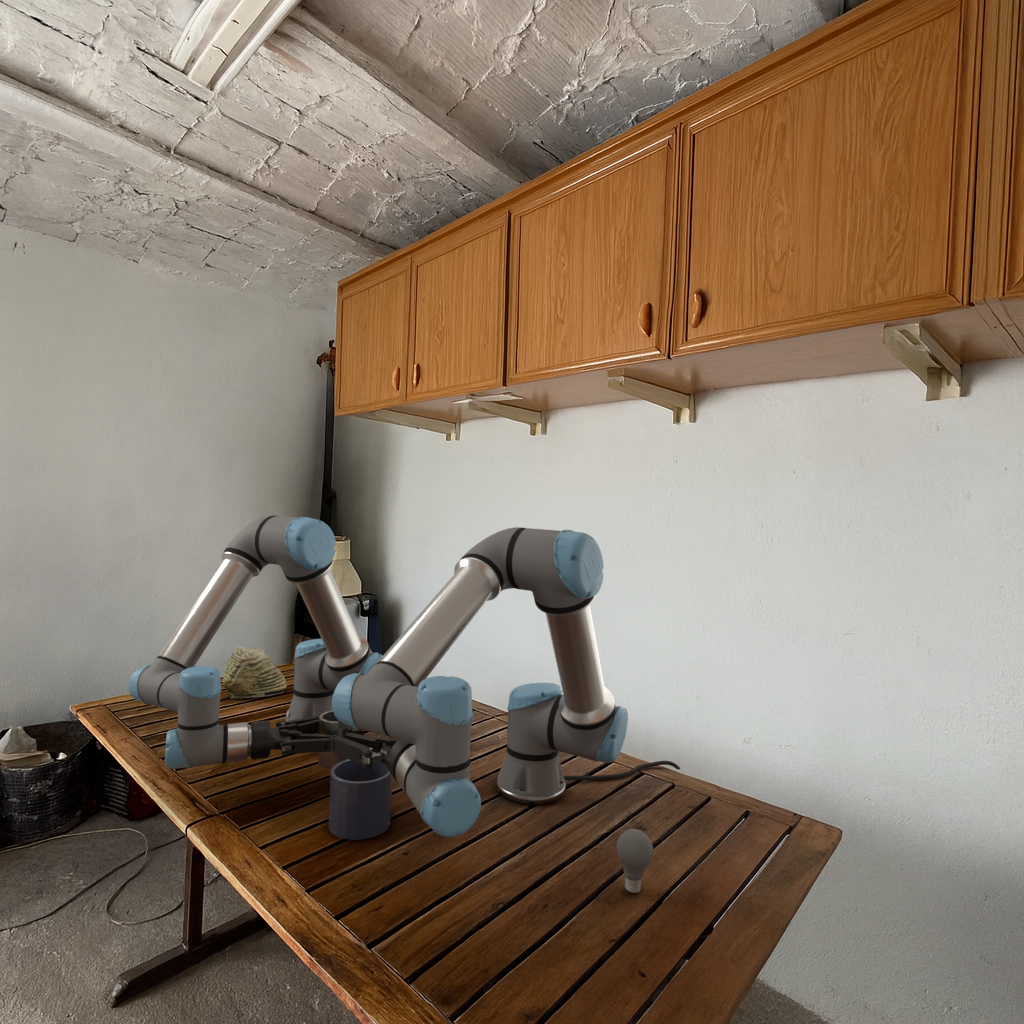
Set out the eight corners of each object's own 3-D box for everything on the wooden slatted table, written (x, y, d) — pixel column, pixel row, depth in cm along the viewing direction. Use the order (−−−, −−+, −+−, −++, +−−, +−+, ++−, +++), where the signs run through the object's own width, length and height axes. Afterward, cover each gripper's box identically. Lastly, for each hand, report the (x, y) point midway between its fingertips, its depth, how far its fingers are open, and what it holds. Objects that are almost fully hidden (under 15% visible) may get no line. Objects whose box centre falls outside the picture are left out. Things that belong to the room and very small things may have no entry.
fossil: (218, 695, 195) (220, 647, 195) (278, 685, 208) (279, 640, 207) (228, 703, 189) (230, 653, 188) (289, 692, 201) (290, 645, 201)
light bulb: (610, 879, 108) (613, 822, 108) (644, 879, 109) (647, 822, 109) (619, 902, 102) (622, 840, 102) (655, 901, 103) (658, 840, 103)
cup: (341, 750, 146) (343, 707, 146) (363, 761, 141) (365, 716, 141) (309, 760, 139) (311, 715, 139) (332, 772, 134) (334, 725, 134)
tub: (365, 803, 132) (367, 752, 132) (402, 823, 124) (405, 769, 124) (316, 824, 123) (318, 769, 122) (354, 847, 115) (356, 789, 115)
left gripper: (246, 740, 142) (348, 729, 151) (251, 779, 123) (368, 764, 132) (247, 707, 142) (350, 698, 151) (253, 741, 123) (370, 728, 132)
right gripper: (333, 807, 90) (306, 751, 109) (491, 776, 102) (442, 730, 120) (335, 755, 90) (307, 707, 108) (493, 730, 101) (443, 691, 120)
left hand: (358, 729), depth 142 cm, fingers closed on cup, 8 cm apart
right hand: (378, 719), depth 114 cm, fingers open, 13 cm apart
